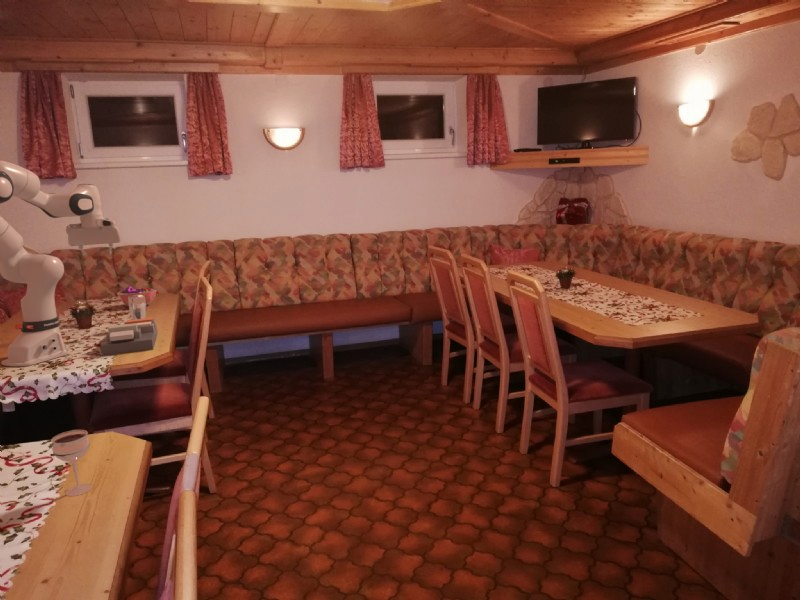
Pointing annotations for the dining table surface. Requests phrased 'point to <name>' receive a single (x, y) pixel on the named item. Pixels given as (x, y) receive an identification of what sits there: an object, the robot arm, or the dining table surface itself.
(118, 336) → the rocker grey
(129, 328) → the bar sage
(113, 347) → the panel
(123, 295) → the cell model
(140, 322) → the bar orange
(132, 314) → the beer glass
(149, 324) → the bar ivory
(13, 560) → the dining table surface
